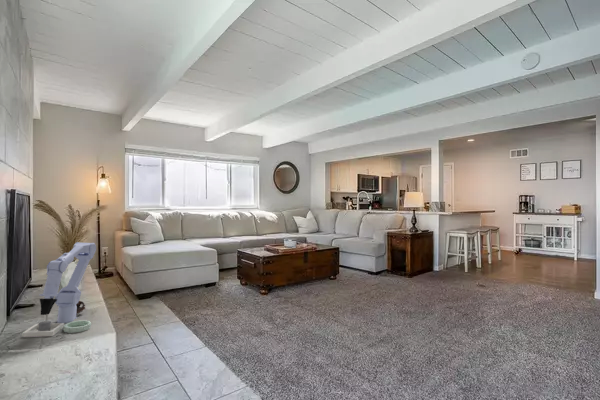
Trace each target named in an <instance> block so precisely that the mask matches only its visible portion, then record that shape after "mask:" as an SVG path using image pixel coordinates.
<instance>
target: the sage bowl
mask: <svg viewBox="0 0 600 400" xmlns="http://www.w3.org/2000/svg"><path fill="white" fill-rule="evenodd" d="M91 328H92V322H91V321H90V320H86V319H85V320H74V321H72V322H68V323H64V327H63V332H64V333H69V334H71V333H72V334H73V333H81V332H85V331H88V330H90V329H91Z"/></svg>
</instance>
